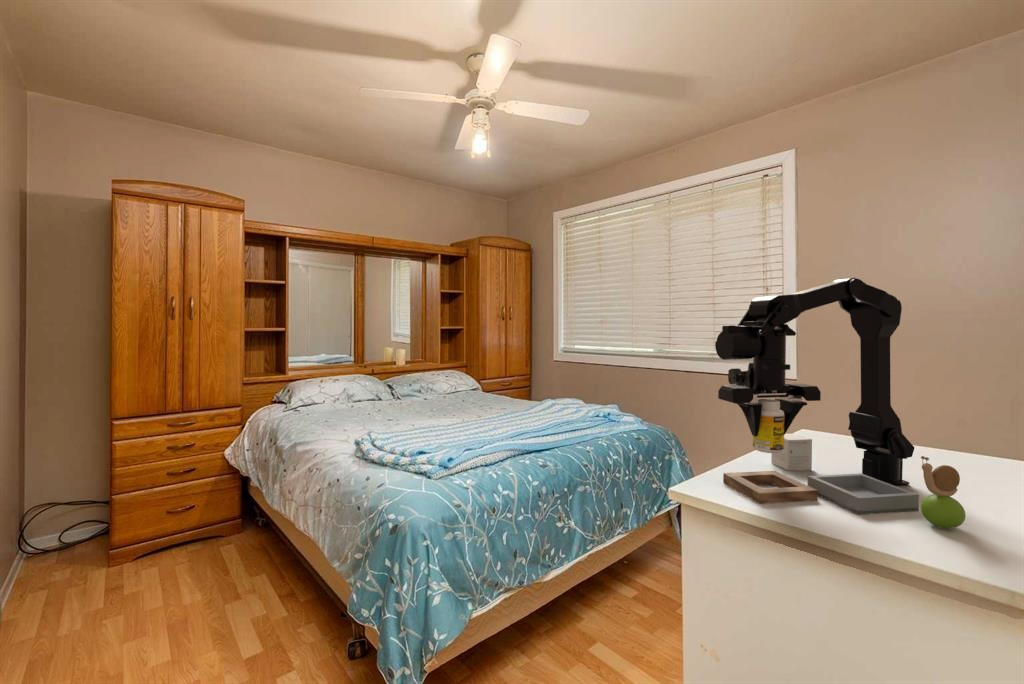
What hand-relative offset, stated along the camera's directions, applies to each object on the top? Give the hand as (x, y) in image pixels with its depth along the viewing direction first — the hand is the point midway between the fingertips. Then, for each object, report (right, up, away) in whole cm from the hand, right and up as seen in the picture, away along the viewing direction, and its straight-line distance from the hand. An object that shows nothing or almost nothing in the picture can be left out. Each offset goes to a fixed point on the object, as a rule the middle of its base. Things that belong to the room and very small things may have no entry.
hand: (768, 435), depth 93 cm
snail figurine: (+19, -12, -17) cm, 28 cm away
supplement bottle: (0, -3, 0) cm, 3 cm away
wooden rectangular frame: (0, -11, 0) cm, 11 cm away
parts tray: (+15, -12, -5) cm, 19 cm away
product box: (+14, -11, +16) cm, 24 cm away
